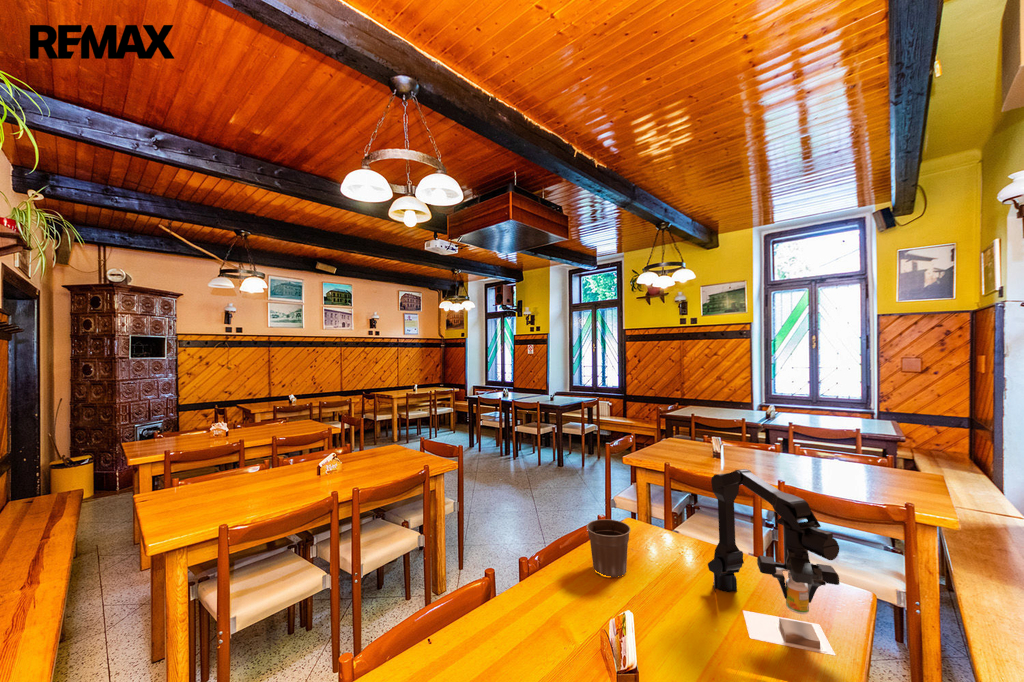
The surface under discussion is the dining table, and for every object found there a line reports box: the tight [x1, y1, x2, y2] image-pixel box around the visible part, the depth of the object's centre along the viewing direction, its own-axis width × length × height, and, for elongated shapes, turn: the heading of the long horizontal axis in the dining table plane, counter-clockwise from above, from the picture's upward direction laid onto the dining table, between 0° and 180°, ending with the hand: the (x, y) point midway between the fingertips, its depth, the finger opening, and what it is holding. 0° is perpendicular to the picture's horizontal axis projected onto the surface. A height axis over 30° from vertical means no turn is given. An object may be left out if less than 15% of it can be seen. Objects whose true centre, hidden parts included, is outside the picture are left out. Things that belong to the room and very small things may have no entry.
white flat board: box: [742, 610, 836, 657], centre depth 122 cm, size 20×14×1 cm
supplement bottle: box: [785, 571, 810, 615], centre depth 120 cm, size 5×5×10 cm
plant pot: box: [586, 518, 631, 578], centre depth 160 cm, size 16×16×16 cm
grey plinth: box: [779, 618, 820, 649], centre depth 119 cm, size 8×8×2 cm
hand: (797, 600), depth 120 cm, fingers closed on supplement bottle, 5 cm apart
